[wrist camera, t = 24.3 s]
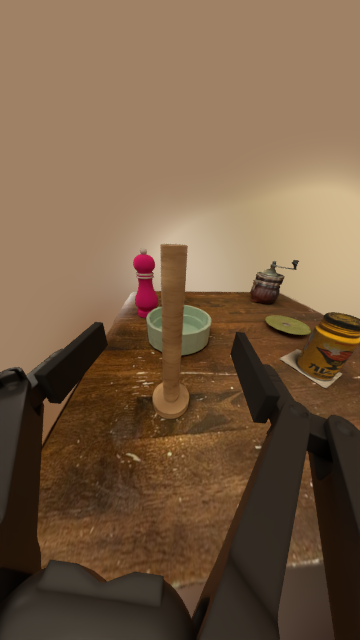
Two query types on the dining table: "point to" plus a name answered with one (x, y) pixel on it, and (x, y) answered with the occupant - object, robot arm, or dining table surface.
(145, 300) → the pepper mill
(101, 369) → the dining table surface
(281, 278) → the coffee grinder
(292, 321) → the olive green flat disc
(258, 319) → the dining table surface
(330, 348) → the condiment
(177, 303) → the wooden post with base
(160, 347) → the bowl
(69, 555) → the dining table surface
